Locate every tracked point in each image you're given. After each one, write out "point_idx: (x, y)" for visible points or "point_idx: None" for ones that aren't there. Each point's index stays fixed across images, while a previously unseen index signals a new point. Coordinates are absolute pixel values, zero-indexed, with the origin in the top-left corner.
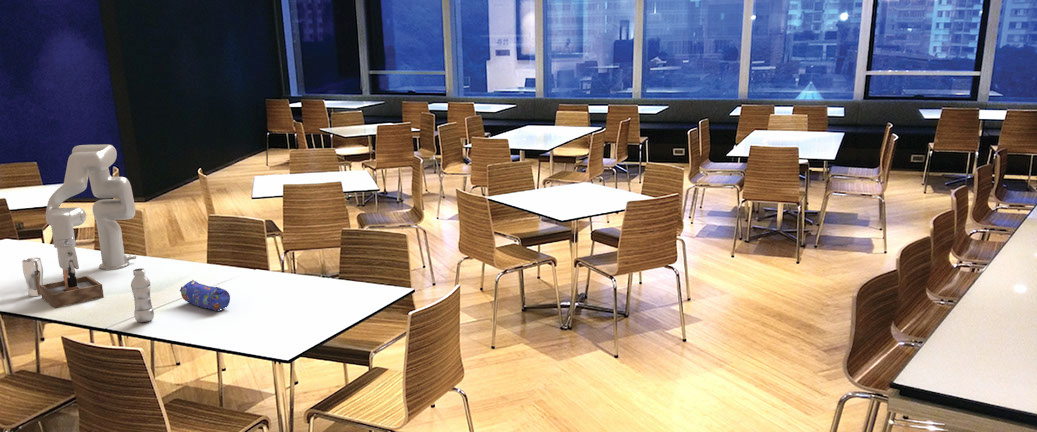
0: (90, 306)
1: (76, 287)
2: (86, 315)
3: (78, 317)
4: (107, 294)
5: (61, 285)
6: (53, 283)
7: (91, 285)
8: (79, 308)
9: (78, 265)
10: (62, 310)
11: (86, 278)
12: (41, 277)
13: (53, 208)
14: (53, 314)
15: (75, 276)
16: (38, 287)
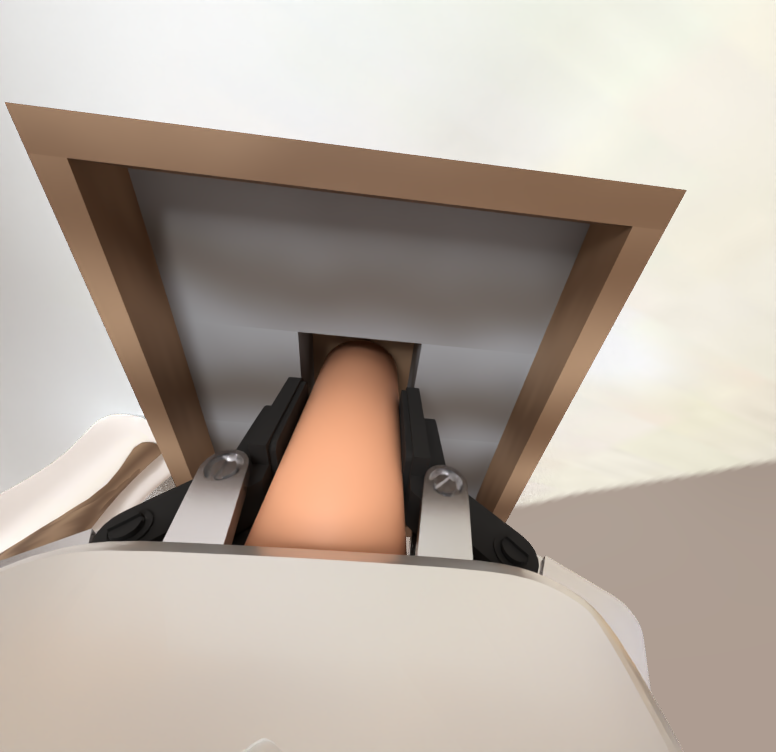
0: (648, 362)
1: (385, 371)
2: (747, 431)
3: (721, 459)
4: (530, 122)
5: (193, 403)
6: (190, 466)
7: (373, 216)
8: (606, 410)
9: (663, 723)
10: (541, 463)
11: (111, 164)
12: (57, 530)
13: None
14: (552, 496)
15: (461, 480)
16: (137, 484)
